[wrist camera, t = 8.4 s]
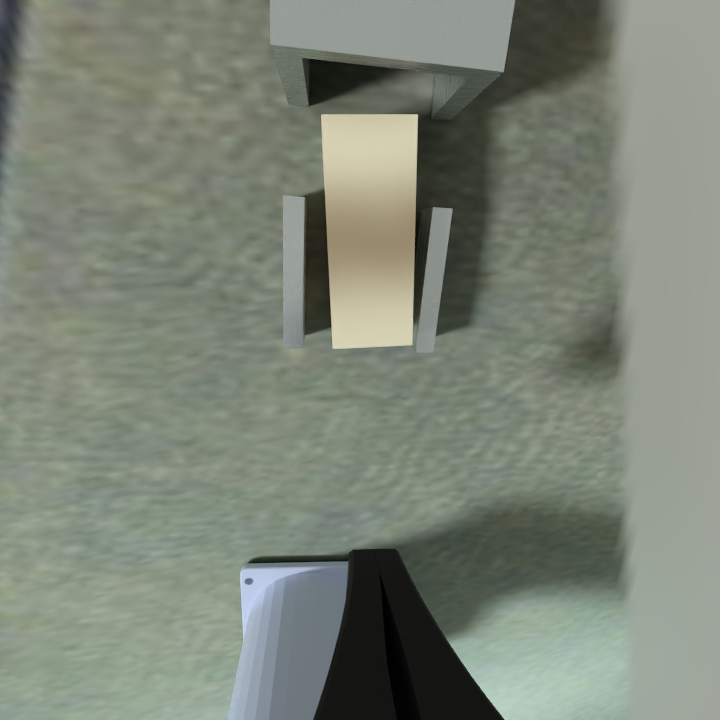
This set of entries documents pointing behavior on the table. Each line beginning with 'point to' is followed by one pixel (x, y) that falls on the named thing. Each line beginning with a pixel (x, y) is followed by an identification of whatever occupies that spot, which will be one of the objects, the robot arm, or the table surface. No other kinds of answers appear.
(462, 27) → the block
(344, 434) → the table surface
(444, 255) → the channel
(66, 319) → the table surface
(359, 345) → the beige rectangular bar
